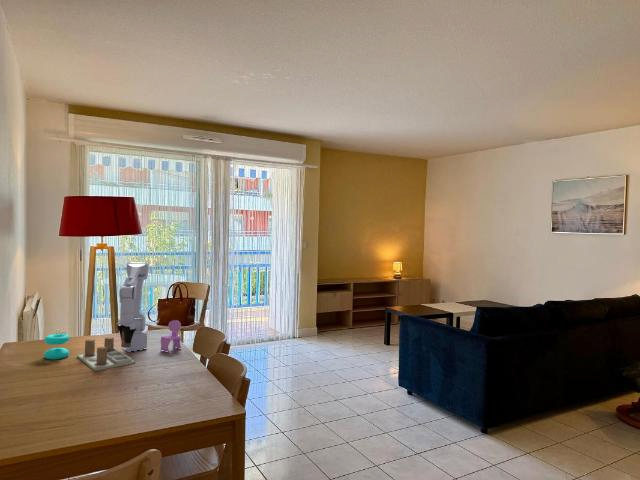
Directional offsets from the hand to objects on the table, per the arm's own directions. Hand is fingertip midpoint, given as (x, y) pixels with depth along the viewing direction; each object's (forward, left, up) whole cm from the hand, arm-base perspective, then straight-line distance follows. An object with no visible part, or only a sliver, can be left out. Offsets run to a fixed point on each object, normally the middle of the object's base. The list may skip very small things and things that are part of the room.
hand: (126, 342), depth 198 cm
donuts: (+21, -25, -9) cm, 34 cm away
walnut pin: (0, 0, -2) cm, 2 cm away
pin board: (+6, -7, -9) cm, 13 cm away
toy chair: (-25, -5, -9) cm, 27 cm away
